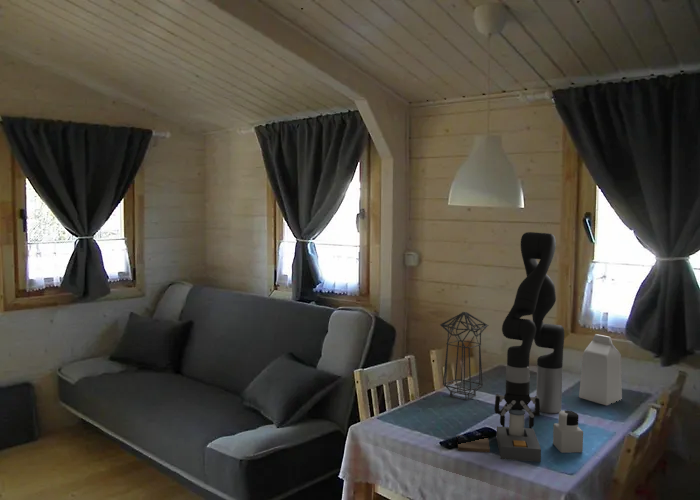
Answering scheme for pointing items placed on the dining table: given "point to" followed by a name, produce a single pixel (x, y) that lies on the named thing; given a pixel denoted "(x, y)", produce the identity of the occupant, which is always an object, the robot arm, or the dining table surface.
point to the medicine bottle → (568, 433)
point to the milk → (601, 372)
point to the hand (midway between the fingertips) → (516, 426)
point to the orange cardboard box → (519, 443)
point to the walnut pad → (475, 445)
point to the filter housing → (518, 453)
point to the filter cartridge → (516, 422)
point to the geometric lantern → (464, 352)
